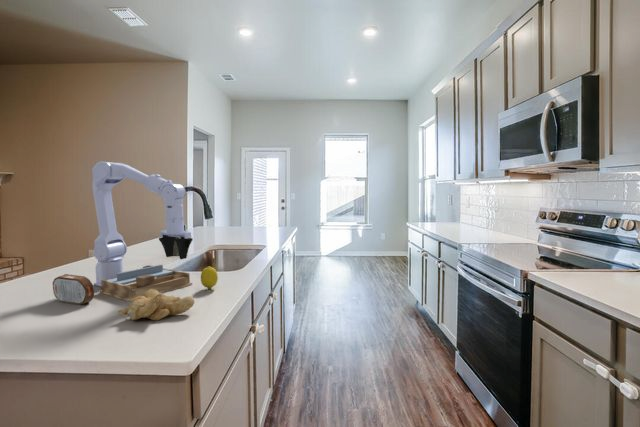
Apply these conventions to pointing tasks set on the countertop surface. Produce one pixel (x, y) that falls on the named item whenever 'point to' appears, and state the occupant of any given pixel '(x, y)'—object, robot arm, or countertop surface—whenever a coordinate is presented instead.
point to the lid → (139, 274)
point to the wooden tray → (161, 285)
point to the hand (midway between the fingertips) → (176, 257)
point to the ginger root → (156, 306)
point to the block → (145, 280)
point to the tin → (73, 289)
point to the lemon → (209, 277)
